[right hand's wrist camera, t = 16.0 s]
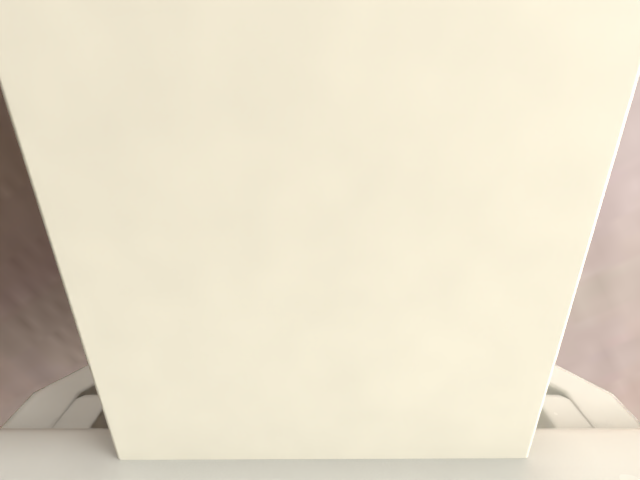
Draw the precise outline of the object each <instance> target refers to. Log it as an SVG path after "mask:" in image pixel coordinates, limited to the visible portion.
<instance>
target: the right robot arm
mask: <svg viewBox="0 0 640 480" xmlns="http://www.w3.org/2000/svg"><path fill="white" fill-rule="evenodd" d="M0 480H640V422H639V421H638V420H637V419H636V418H635V417H634V416H633V415H632V414H631V413H630V412H629V410H628V409H627V408H626V407H625V406H624V405H623V404H622V403H621V402H620V401H619V400H618V399H617V398H616V397H615V396H614V395H613V394H612V393H610V392H608V391H606V390H604V389H602V388H600V387H598V386H596V385H594V384H592V383H590V382H588V381H587V380H585V379H583V378H581V377H579V376H577V375H575V374H573V373H571V372H569V371H567V370H565V369H563V368H561V367H559V366H557V365H554V369H553V372H552V375H551V379H550V382H549V386H548V389H547V392H546V396H545V399H544V403H543V406H542V410H541V413H540V416H539V420H538V423H537V427H536V430H535V433H534V437H533V440H532V444H531V447H530V451H529V454H528V457H527V458H463V459H234V460H120V459H118V457H117V454H116V451H115V447H114V444H113V441H112V438H111V435H110V432H109V428H108V425H107V422H106V419H105V416H104V413H103V410H102V406H101V403H100V400H99V397H98V394H97V391H96V387H95V384H94V381H93V378H92V375H91V372H90V368H89V365H87V366H85V367H83V368H81V369H80V370H78V371H76V372H74V373H72V374H70V375H68V376H66V377H64V378H62V379H60V380H58V381H56V382H54V383H52V384H50V385H48V386H46V387H44V388H42V389H40V390H38V391H37V392H35V393H33V394H32V395H31V396H30V397H29V398H28V399H27V400H26V401H25V403H24V404H23V405H22V406H21V407H20V408H19V409H18V410H17V411H16V412H15V413H14V414H13V415H12V416H11V417H10V418H9V419H8V420H7V422H6V423H5V424H4V425H3V426H2V427H1V428H0Z"/></svg>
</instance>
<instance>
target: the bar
mask: <svg viewBox="0 0 640 480" xmlns="http://www.w3.org/2000/svg"><path fill="white" fill-rule="evenodd" d="M639 74H640V0H0V88H1V91H2V94H3V97H4V100H5V103H6V106H7V110H8V113H9V116H10V119H11V122H12V125H13V129H14V132H15V135H16V138H17V141H18V144H19V148H20V151H21V154H22V157H23V160H24V163H25V166H26V170H27V173H28V176H29V179H30V182H31V185H32V189H33V192H34V195H35V198H36V201H37V204H38V207H39V211H40V214H41V217H42V220H43V223H44V226H45V230H46V233H47V236H48V239H49V242H50V245H51V249H52V252H53V255H54V258H55V261H56V264H57V267H58V271H59V274H60V277H61V280H62V283H63V286H64V290H65V293H66V296H67V299H68V302H69V305H70V309H71V312H72V315H73V318H74V321H75V324H76V327H77V331H78V334H79V337H80V340H81V343H82V346H83V350H84V353H85V356H86V359H87V362H88V365H89V368H90V372H91V375H92V378H93V381H94V384H95V387H96V391H97V394H98V397H99V400H100V403H101V406H102V410H103V413H104V416H105V419H106V422H107V425H108V428H109V432H110V435H111V438H112V441H113V444H114V447H115V451H116V454H117V457H118V459H120V460H234V459H463V458H527V457H528V454H529V451H530V447H531V444H532V440H533V437H534V433H535V430H536V427H537V423H538V420H539V416H540V413H541V410H542V406H543V403H544V399H545V396H546V392H547V389H548V386H549V382H550V379H551V375H552V372H553V369H554V365H555V362H556V358H557V355H558V351H559V348H560V345H561V341H562V338H563V334H564V331H565V327H566V324H567V321H568V317H569V314H570V310H571V307H572V304H573V300H574V297H575V293H576V290H577V286H578V283H579V280H580V276H581V273H582V269H583V266H584V262H585V259H586V256H587V252H588V249H589V245H590V242H591V239H592V235H593V232H594V228H595V225H596V221H597V218H598V215H599V211H600V208H601V204H602V201H603V197H604V194H605V191H606V187H607V184H608V180H609V177H610V174H611V170H612V167H613V163H614V160H615V156H616V153H617V150H618V146H619V143H620V139H621V136H622V132H623V129H624V126H625V122H626V119H627V115H628V112H629V109H630V105H631V102H632V98H633V95H634V91H635V88H636V85H637V81H638V78H639Z"/></svg>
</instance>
